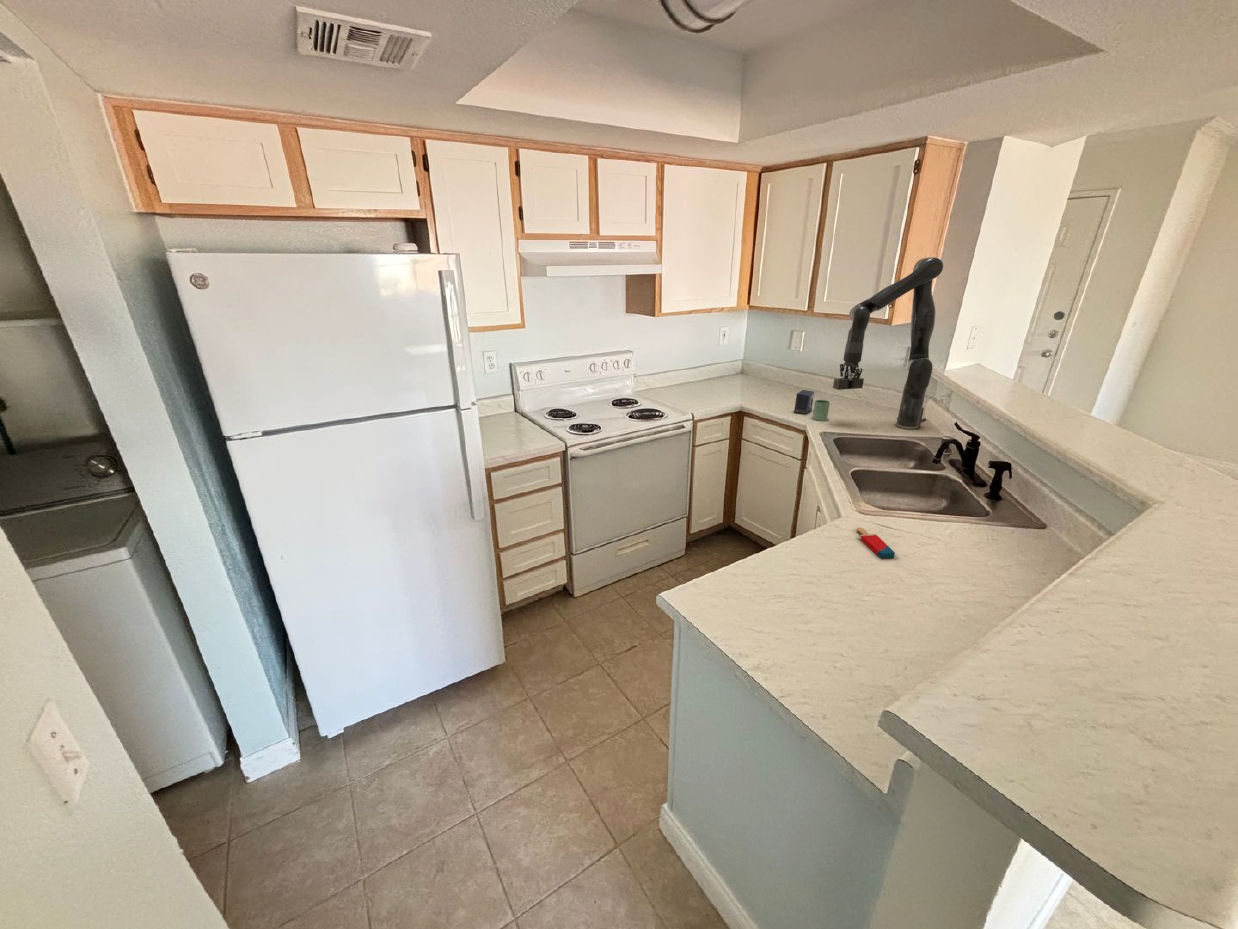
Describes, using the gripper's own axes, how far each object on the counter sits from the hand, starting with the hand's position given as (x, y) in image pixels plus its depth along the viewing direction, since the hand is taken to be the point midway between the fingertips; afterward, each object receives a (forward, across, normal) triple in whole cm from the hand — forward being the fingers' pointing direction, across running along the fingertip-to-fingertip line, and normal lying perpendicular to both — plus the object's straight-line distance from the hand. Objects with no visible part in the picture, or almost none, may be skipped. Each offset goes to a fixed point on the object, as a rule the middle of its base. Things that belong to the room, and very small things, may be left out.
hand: (847, 387), depth 238 cm
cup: (+18, +10, +5) cm, 22 cm away
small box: (+18, +24, +6) cm, 31 cm away
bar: (0, 0, 0) cm, 0 cm away
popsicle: (+18, -101, +61) cm, 119 cm away
